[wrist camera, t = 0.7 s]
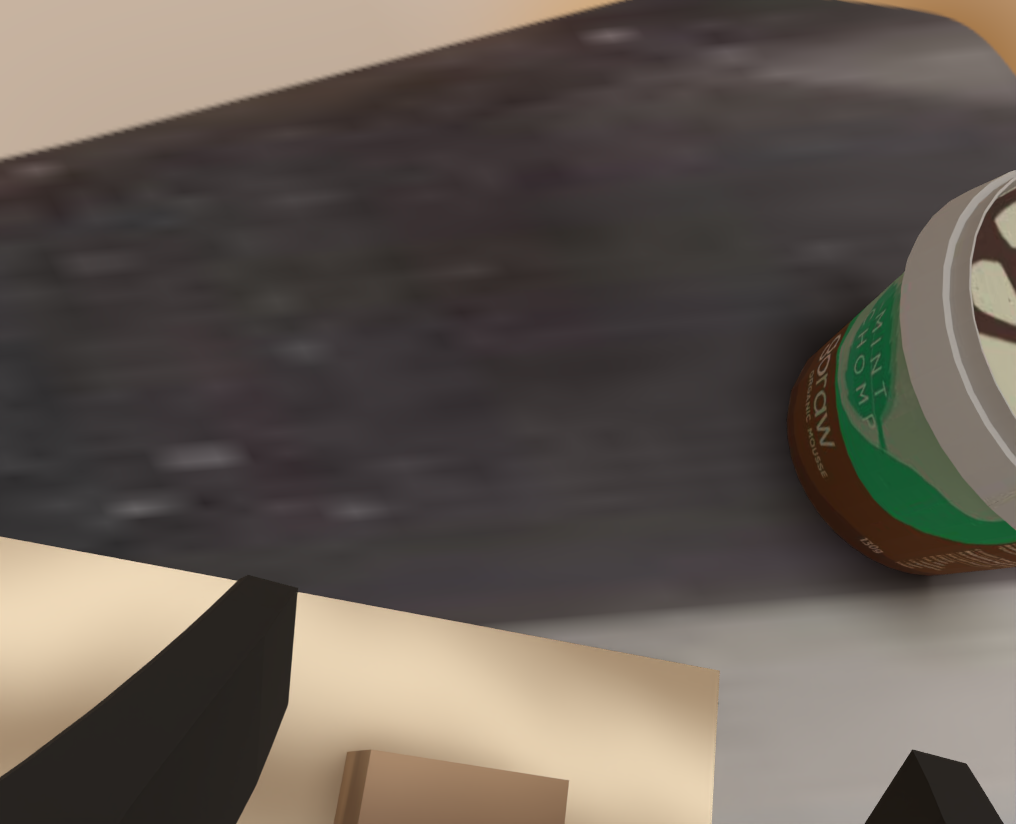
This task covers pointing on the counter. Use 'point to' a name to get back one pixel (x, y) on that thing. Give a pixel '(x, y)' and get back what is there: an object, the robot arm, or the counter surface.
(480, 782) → the block
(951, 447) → the food container
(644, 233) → the counter surface
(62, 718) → the board
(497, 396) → the counter surface
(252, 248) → the counter surface
